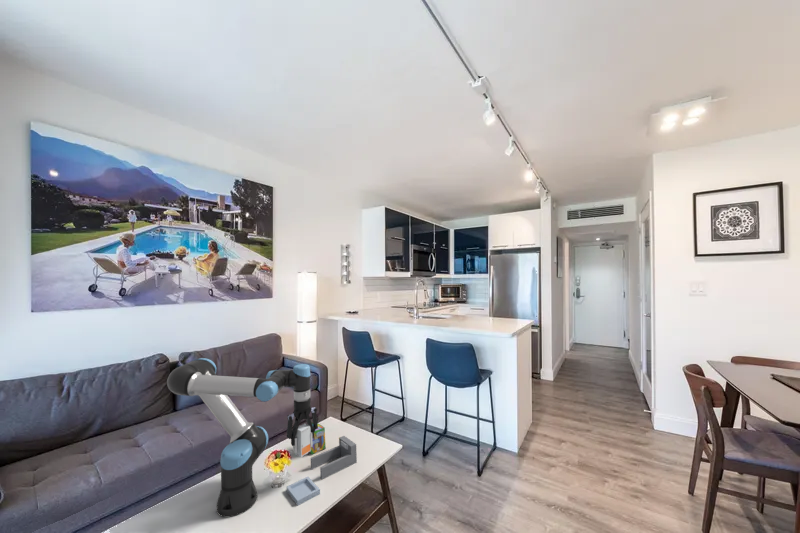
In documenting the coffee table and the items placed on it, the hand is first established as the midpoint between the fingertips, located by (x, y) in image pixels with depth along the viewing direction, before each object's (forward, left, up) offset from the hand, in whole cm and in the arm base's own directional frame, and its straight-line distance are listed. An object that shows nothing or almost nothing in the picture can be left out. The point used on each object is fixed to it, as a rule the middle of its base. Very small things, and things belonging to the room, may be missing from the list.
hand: (302, 448), depth 145 cm
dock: (+16, 0, -14) cm, 21 cm away
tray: (-4, -8, -14) cm, 17 cm away
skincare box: (0, 0, -2) cm, 2 cm away
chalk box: (+15, +21, -14) cm, 30 cm away
